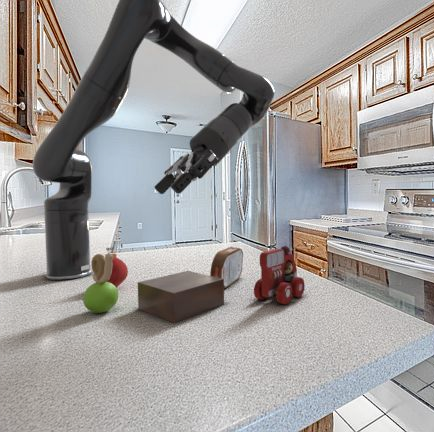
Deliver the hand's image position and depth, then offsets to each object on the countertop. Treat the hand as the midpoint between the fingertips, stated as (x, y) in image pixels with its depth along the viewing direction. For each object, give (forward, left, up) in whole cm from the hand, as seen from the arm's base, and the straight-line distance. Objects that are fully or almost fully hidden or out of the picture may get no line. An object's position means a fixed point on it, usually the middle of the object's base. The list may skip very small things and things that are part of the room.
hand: (165, 190), depth 61 cm
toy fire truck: (+19, +14, -22) cm, 32 cm away
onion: (-15, -3, -22) cm, 27 cm away
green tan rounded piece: (-2, -11, -22) cm, 25 cm away
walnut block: (+7, -1, -22) cm, 23 cm away
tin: (+3, +15, -22) cm, 27 cm away
